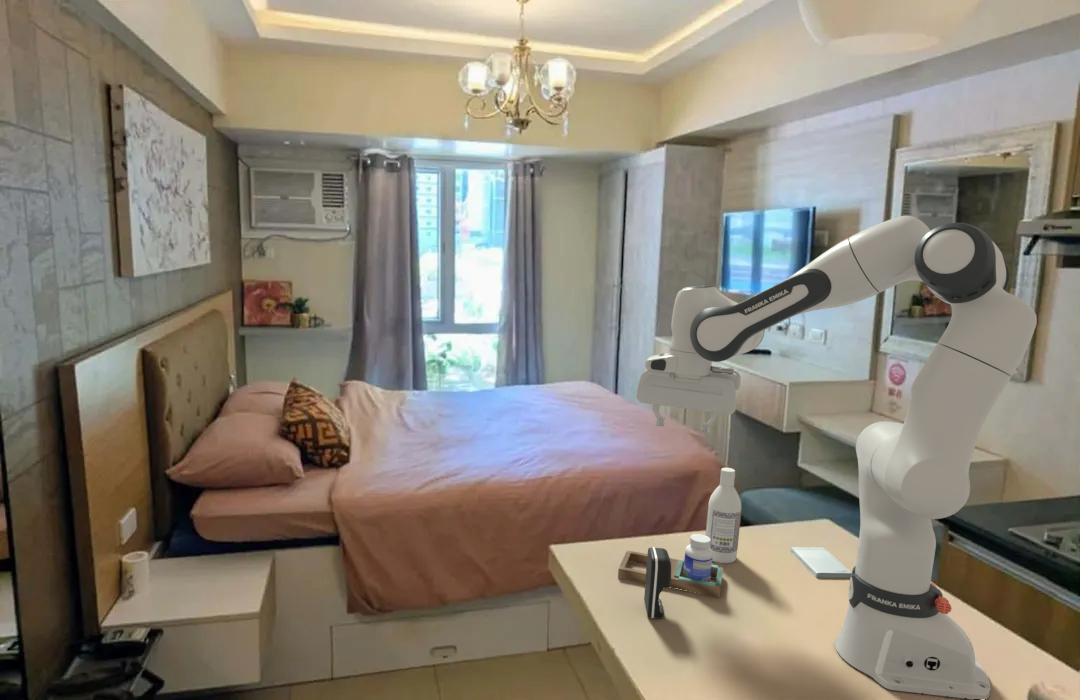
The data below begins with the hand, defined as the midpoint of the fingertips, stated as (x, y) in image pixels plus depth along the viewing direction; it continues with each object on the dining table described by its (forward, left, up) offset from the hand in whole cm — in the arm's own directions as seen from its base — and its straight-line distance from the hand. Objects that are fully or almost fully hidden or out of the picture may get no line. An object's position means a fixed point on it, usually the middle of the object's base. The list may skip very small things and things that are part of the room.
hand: (682, 428), depth 142 cm
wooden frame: (-1, +8, -29) cm, 30 cm away
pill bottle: (-6, +8, -30) cm, 31 cm away
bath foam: (-10, -6, -30) cm, 32 cm away
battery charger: (0, +22, -30) cm, 37 cm away
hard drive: (-31, -12, -30) cm, 44 cm away
